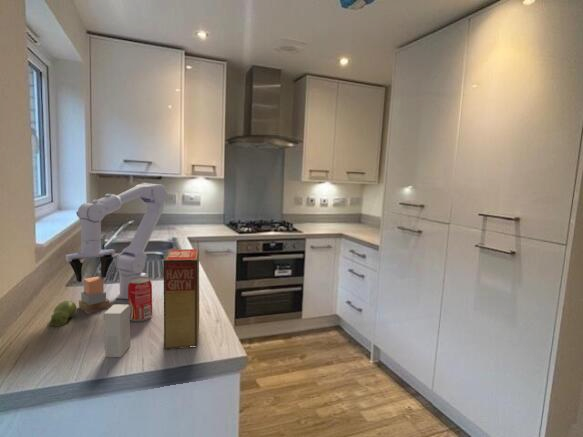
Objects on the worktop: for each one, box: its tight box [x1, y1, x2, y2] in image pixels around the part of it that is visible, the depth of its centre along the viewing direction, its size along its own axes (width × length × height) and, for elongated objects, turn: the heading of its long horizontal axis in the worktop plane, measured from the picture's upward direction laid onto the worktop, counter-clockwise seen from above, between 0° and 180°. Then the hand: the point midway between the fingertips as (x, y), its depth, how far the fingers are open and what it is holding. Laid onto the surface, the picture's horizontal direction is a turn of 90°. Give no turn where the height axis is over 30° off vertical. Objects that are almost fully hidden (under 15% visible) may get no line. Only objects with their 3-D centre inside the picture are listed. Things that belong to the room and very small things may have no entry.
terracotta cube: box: [83, 276, 105, 295], centre depth 117 cm, size 4×4×4 cm
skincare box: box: [103, 304, 131, 358], centre depth 90 cm, size 6×4×12 cm
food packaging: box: [162, 248, 200, 350], centre depth 99 cm, size 13×9×25 cm
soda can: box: [127, 276, 153, 323], centre depth 111 cm, size 7×7×13 cm
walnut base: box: [78, 298, 111, 314], centre depth 118 cm, size 7×7×3 cm
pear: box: [50, 300, 77, 327], centre depth 107 cm, size 6×5×10 cm
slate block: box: [80, 291, 107, 305], centre depth 117 cm, size 6×6×3 cm
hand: (91, 278), depth 116 cm, fingers open, 7 cm apart
